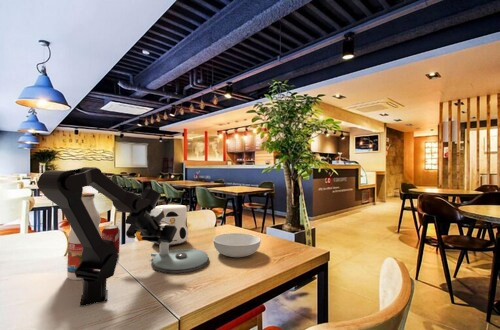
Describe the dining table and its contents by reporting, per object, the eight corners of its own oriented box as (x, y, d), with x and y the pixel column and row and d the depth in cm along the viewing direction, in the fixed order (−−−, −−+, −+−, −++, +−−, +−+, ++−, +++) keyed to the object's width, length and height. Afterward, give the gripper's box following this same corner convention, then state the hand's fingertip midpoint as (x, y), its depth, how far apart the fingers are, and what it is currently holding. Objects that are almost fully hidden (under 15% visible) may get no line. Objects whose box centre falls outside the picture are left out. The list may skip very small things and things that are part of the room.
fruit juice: (105, 272, 90) (108, 193, 90) (78, 283, 82) (81, 195, 82) (88, 267, 94) (90, 191, 94) (60, 277, 85) (63, 193, 86)
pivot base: (217, 267, 97) (217, 254, 97) (156, 278, 86) (156, 263, 86) (198, 249, 118) (198, 238, 118) (147, 256, 107) (147, 244, 107)
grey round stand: (208, 268, 93) (209, 232, 93) (141, 271, 89) (142, 234, 89) (207, 250, 113) (208, 220, 113) (153, 251, 109) (154, 221, 110)
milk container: (149, 249, 115) (150, 210, 116) (152, 239, 132) (153, 204, 132) (189, 247, 120) (189, 209, 120) (187, 237, 137) (188, 204, 137)
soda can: (111, 258, 103) (112, 229, 104) (97, 257, 105) (97, 227, 105) (122, 253, 110) (123, 225, 110) (109, 252, 111) (110, 224, 112)
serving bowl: (268, 259, 107) (268, 243, 107) (219, 265, 99) (220, 247, 99) (250, 245, 126) (250, 231, 126) (208, 249, 118) (208, 234, 119)
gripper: (175, 204, 95) (188, 227, 105) (132, 200, 99) (149, 223, 110) (162, 230, 87) (177, 252, 97) (116, 225, 91) (136, 247, 102)
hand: (160, 242), depth 102 cm, fingers closed, pressing on grey round stand
